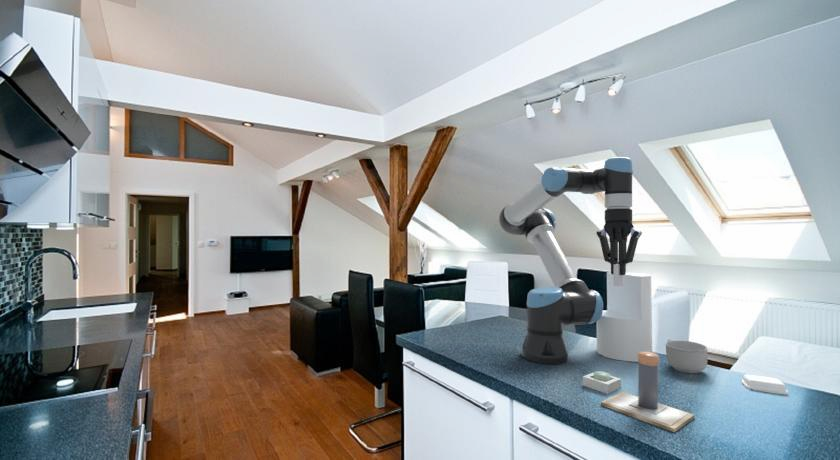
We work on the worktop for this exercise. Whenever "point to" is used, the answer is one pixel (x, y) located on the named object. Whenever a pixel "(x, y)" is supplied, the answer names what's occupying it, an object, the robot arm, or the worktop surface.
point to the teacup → (686, 356)
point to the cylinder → (626, 318)
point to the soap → (764, 384)
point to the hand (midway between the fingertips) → (618, 285)
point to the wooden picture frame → (648, 412)
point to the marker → (648, 380)
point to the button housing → (602, 383)
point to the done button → (602, 376)
